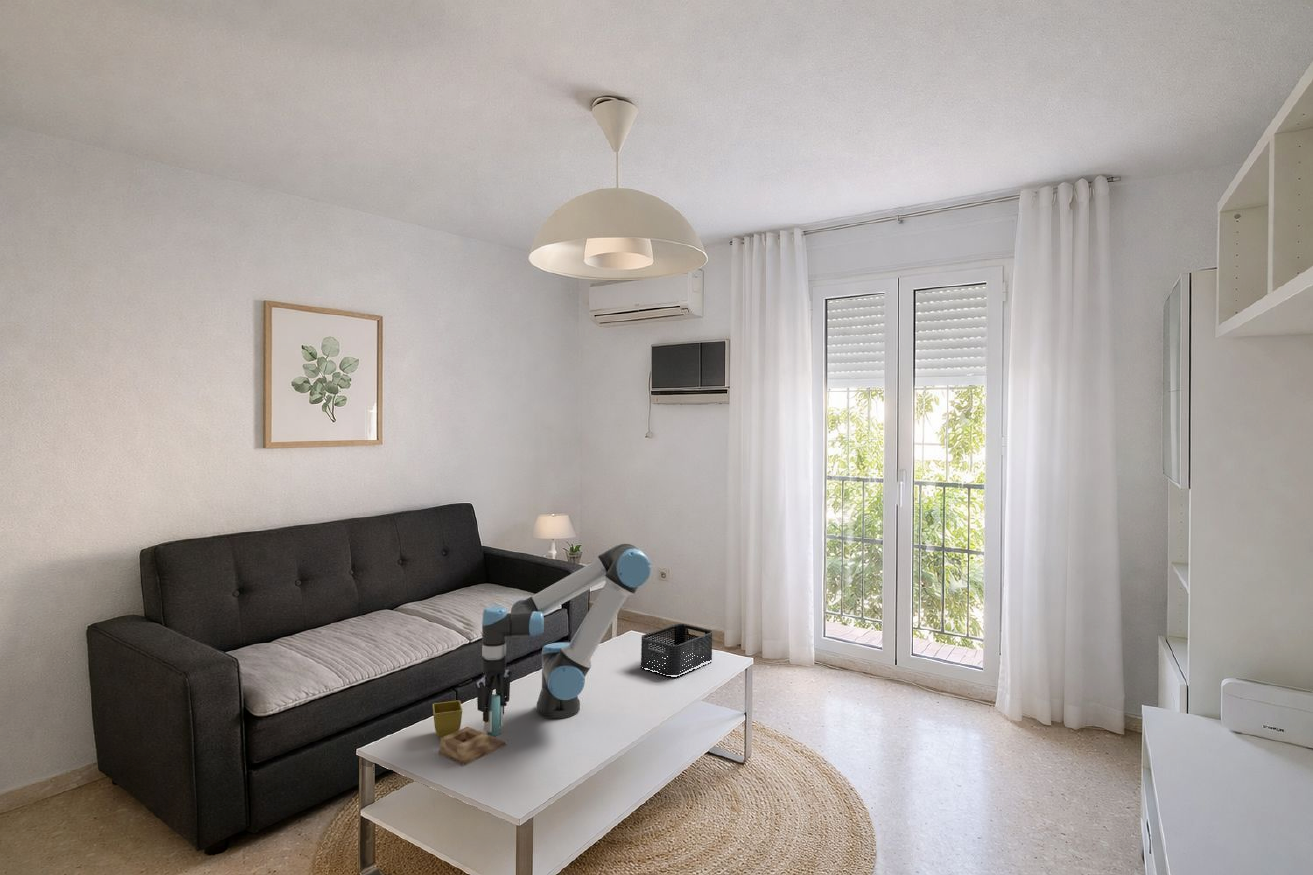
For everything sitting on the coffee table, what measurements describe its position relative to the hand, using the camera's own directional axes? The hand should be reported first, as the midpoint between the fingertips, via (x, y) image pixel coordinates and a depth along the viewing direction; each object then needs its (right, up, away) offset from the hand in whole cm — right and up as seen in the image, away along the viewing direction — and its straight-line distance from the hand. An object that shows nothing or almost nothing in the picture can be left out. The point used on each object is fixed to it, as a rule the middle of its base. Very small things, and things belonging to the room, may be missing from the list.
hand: (493, 727), depth 221 cm
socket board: (-4, -2, -11) cm, 12 cm away
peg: (0, -2, 0) cm, 2 cm away
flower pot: (-15, -2, -1) cm, 15 cm away
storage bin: (+61, -2, +66) cm, 90 cm away
